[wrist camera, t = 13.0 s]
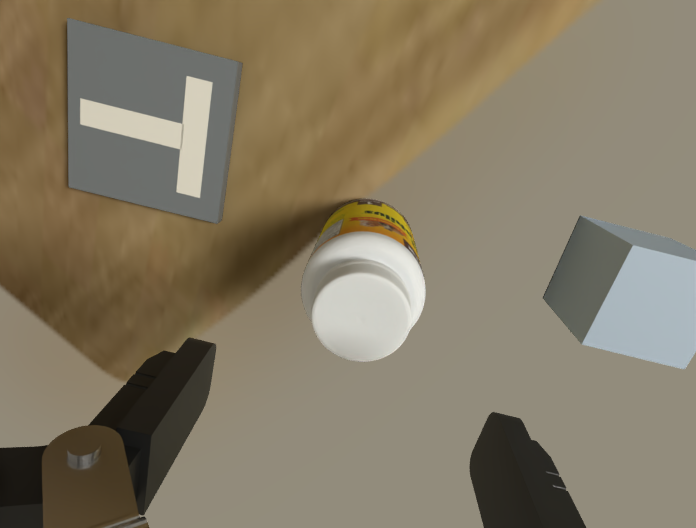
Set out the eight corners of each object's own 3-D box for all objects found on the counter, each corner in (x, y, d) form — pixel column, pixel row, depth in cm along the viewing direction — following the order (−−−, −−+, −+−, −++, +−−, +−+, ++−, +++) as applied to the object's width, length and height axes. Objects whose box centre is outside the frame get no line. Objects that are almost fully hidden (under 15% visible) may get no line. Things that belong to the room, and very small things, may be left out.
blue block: (579, 215, 25) (633, 245, 20) (669, 237, 25) (745, 273, 20) (542, 297, 27) (581, 344, 22) (625, 318, 27) (684, 369, 22)
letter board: (77, 20, 23) (67, 17, 22) (242, 63, 23) (238, 61, 22) (77, 184, 26) (68, 187, 25) (221, 220, 26) (217, 223, 25)
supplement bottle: (431, 241, 26) (464, 324, 16) (365, 298, 27) (360, 403, 18) (367, 175, 25) (362, 222, 15) (303, 238, 26) (260, 317, 17)
